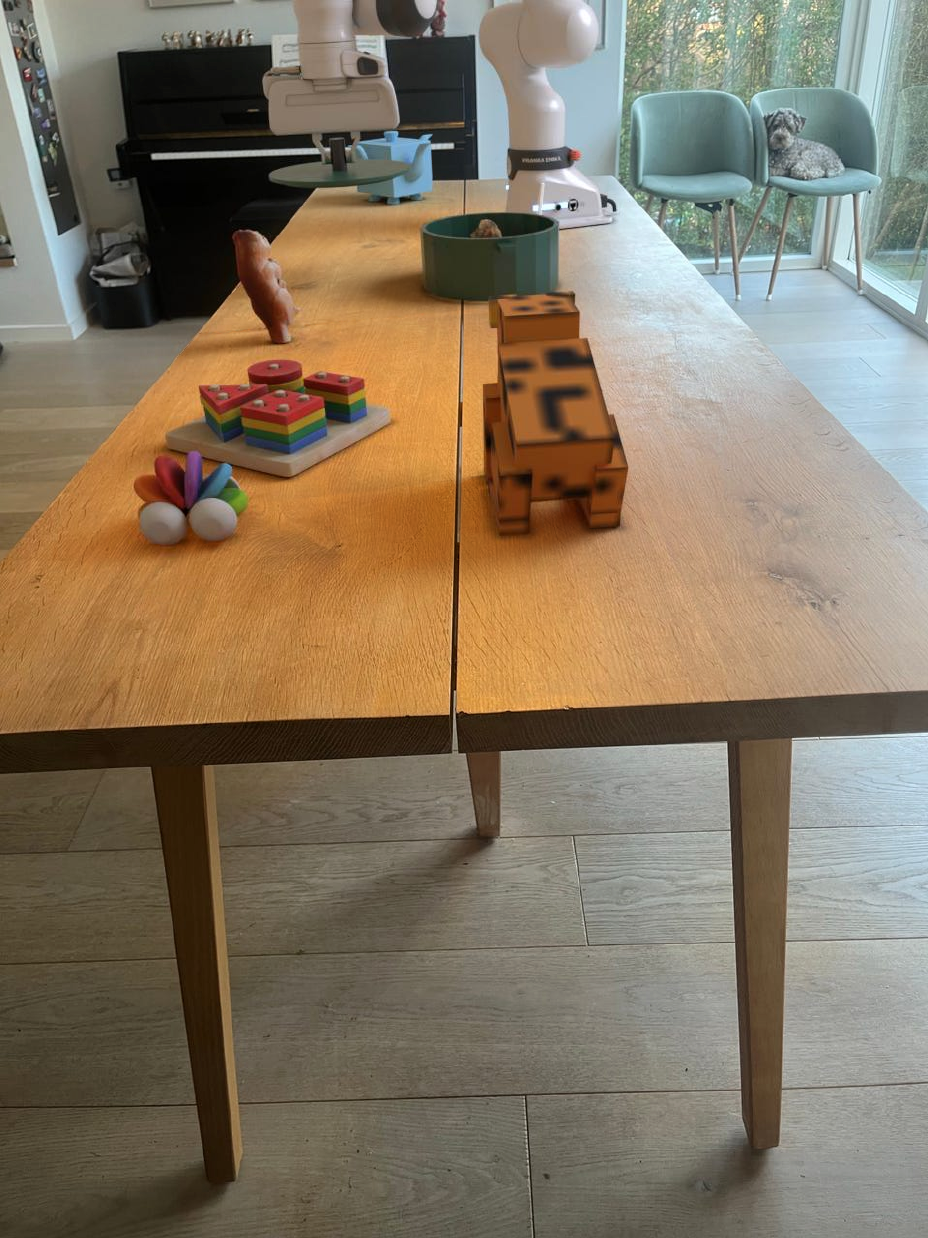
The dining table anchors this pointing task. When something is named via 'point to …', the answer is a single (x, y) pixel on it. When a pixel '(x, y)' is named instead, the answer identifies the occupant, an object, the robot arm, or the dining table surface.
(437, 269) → the tin
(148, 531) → the rainbow fan rolling toy
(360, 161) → the tin lid
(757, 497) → the dining table surface
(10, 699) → the dining table surface
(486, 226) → the lion figurine
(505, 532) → the toy animal
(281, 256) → the dining table surface
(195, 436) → the shape sorter
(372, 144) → the teakettle
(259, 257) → the figurine
